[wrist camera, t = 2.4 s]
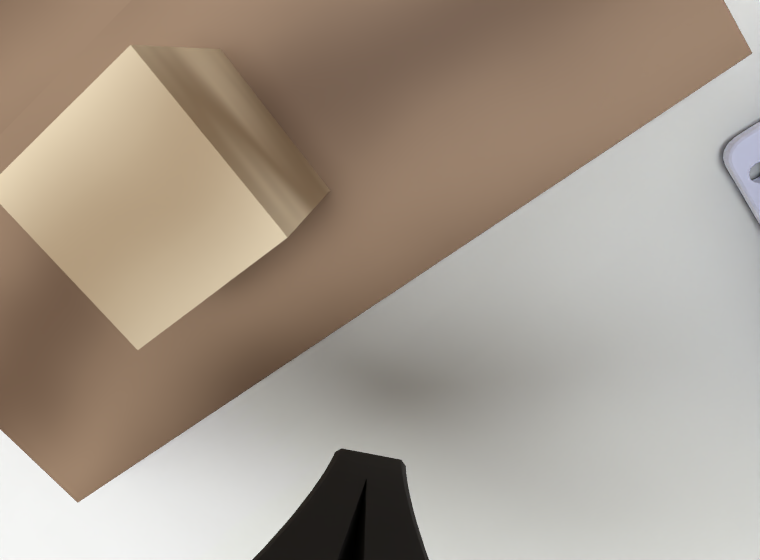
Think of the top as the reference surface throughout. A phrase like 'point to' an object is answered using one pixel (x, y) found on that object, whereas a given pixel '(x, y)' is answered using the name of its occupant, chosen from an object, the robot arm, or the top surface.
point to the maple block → (160, 185)
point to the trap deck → (333, 165)
